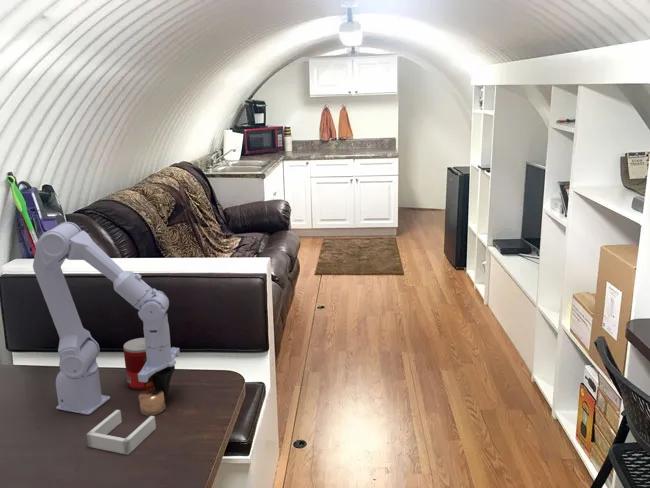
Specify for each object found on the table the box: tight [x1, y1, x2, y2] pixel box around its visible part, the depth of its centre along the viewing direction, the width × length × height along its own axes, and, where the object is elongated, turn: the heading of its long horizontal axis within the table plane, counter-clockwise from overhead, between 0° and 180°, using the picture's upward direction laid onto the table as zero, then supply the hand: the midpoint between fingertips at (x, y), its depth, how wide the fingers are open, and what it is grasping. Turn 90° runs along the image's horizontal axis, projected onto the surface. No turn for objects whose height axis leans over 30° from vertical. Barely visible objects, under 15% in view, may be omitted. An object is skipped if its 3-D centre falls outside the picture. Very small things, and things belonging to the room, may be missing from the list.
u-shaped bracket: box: [85, 409, 157, 456], centre depth 123 cm, size 10×10×3 cm
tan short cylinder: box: [138, 387, 166, 417], centre depth 134 cm, size 6×6×4 cm
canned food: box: [123, 337, 154, 391], centre depth 145 cm, size 8×8×11 cm
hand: (162, 395), depth 137 cm, fingers closed
